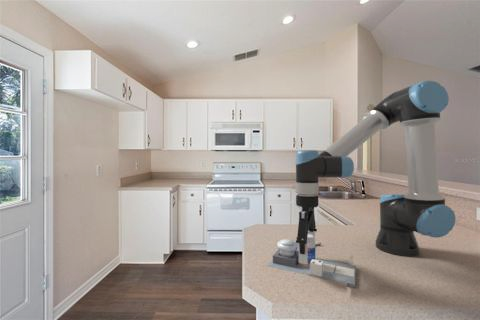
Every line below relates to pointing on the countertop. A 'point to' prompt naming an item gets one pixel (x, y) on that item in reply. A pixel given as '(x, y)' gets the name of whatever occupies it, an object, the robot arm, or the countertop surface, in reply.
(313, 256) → the pill bottle
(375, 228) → the countertop surface
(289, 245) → the pop dome
